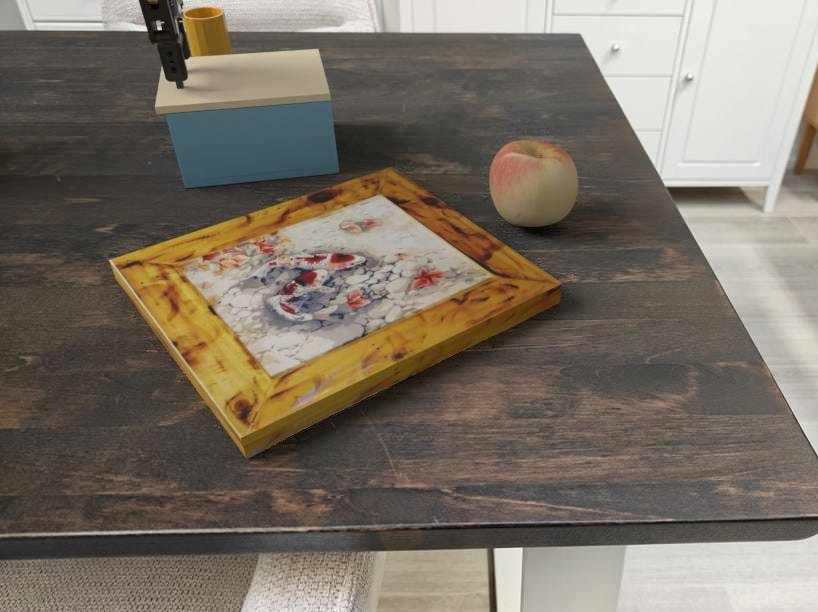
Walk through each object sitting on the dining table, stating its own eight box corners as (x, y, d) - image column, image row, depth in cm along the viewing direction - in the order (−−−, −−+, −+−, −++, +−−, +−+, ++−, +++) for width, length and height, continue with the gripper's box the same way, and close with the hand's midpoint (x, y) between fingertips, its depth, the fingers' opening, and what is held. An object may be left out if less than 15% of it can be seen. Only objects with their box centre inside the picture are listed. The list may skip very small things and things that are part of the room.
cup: (185, 66, 107) (173, 15, 102) (210, 54, 111) (199, 4, 106) (217, 73, 105) (206, 21, 101) (241, 60, 109) (232, 9, 105)
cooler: (185, 188, 80) (165, 114, 75) (189, 134, 90) (172, 66, 85) (339, 173, 84) (331, 101, 78) (327, 123, 94) (319, 56, 88)
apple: (476, 207, 79) (477, 136, 73) (552, 193, 81) (558, 123, 76) (509, 250, 73) (513, 175, 67) (589, 233, 75) (599, 160, 70)
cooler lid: (156, 114, 75) (141, 59, 71) (164, 65, 85) (151, 15, 81) (331, 100, 78) (324, 48, 75) (319, 55, 88) (313, 7, 84)
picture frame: (561, 283, 65) (240, 438, 51) (559, 303, 66) (246, 459, 52) (391, 167, 81) (108, 260, 66) (392, 185, 82) (116, 279, 68)
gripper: (99, -130, 72) (147, 48, 83) (77, -101, 62) (135, 98, 73) (180, -132, 74) (216, 44, 85) (172, -104, 63) (215, 92, 74)
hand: (179, 68), depth 79 cm, fingers closed on cooler lid, 5 cm apart
